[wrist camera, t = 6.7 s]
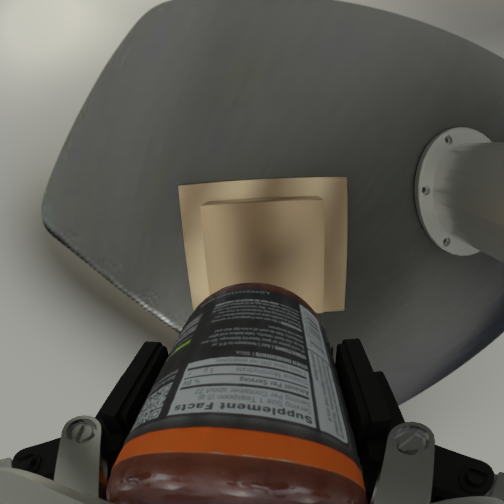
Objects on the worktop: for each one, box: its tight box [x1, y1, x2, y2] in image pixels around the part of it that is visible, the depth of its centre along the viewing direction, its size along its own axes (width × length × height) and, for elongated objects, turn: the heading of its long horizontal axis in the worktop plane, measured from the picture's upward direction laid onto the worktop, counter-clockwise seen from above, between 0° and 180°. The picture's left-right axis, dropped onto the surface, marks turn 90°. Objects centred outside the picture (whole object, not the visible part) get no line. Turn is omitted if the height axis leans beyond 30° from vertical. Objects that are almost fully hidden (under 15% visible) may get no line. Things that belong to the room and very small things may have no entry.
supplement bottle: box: [106, 283, 368, 504], centre depth 7 cm, size 6×6×11 cm
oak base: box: [178, 177, 347, 313], centre depth 25 cm, size 14×12×4 cm
